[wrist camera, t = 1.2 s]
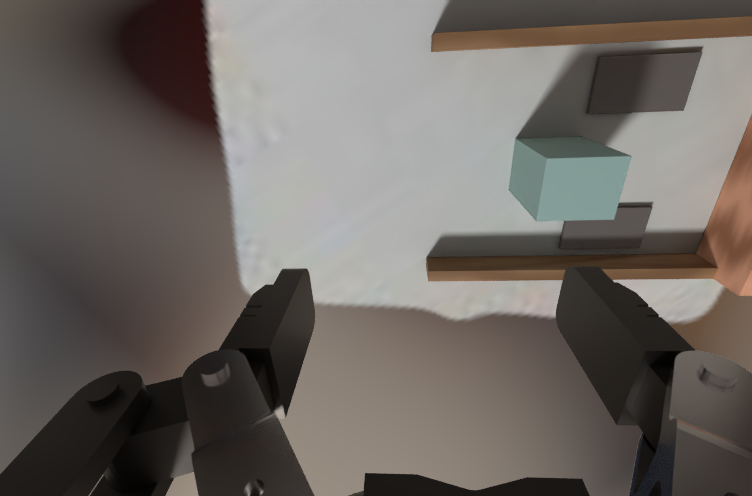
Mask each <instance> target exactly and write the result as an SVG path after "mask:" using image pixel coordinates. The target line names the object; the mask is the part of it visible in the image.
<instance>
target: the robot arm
mask: <svg viewBox="0 0 752 496" xmlns="http://www.w3.org/2000/svg"><path fill="white" fill-rule="evenodd" d="M556 321H557V325H558V328H559V330H560V332H561V334H562V335H563V337H564V339H565V340H566V342H567V344H568V345H569V347H570V349H571V350H572V352H573V353H574V355H575V357H576V358H577V360H578V362H579V363H580V365H581V367H582V368H583V370H584V371H585V373H586V375H587V377H588V378H589V380H590V381H591V383H592V385H593V386H594V388H595V390H596V391H597V393H598V395H599V396H600V398H601V400H602V401H603V403H604V405H605V406H606V408H607V409H608V411H609V413H610V415H611V416H612V418H613V420H614V421H615V423H616V424H617V425H638V426H639V427H640V429H641V430H642V432H643V433H642V435H641V437H640V439H639V442H638V448H637V453H636V459H635V465H634V470H633V476H632V482H631V488H630V493H629V496H752V374H751V373H750V372H749V371H747V370H746V369H745V368H743V367H742V366H740V365H738V364H736V363H735V362H732V361H731V360H728V359H726V358H724V357H721V356H718V355H715V354H711V353H707V352H702V351H696V350H694V348H692V347H691V346H690V345H689V344H688V343H687V342H686V341H685V340H684V339H683V338H682V337H681V336H680V335H679V334H678V333H677V332H676V331H675V330H674V329H673V328H672V327H671V326H670V325H669V324H668V323H667V322H666V321H665V320H664V319H662V318H661V317H659V315H658V314H657V313H656V312H655V311H654V310H653V309H652V308H651V307H648V304H647V303H646V302H645V301H644V300H643V299H642V298H641V297H640V296H639V295H638V294H637V293H635V292H634V291H632V290H630V289H628V288H626V287H625V286H623V285H621V284H619V283H614V282H613V281H612V280H611V278H610V277H609V276H608V275H607V274H606V273H605V272H604V271H603V270H602V269H601V268H599V267H598V266H569V267H568V268H567V269H566V271H565V273H564V277H563V282H562V286H561V291H560V295H559V300H558V304H557V309H556ZM314 322H315V309H314V302H313V296H312V289H311V282H310V276H309V272H308V270H307V269H282V270H281V272H280V274H279V276H278V277H277V279H276V281H275V283H274V285H265V286H263V287H262V288H261V289H259V290H258V291H257V292H256V293H254V294H253V295H252V297H251V298H250V300H249V302H248V303H247V305H246V308H244V310H243V312H242V313H241V315H240V317H239V318H238V319H237V321H236V323H235V324H234V326H233V328H232V329H231V331H230V332H229V334H228V336H227V337H226V339H225V341H224V342H223V344H222V345H221V347H220V349H219V350H217V351H213V352H210V353H207V354H205V355H203V356H201V357H200V358H198V359H197V360H195V361H194V362H193V363H192V364H190V365H189V366H188V368H187V369H186V370H185V372H184V373H183V376H182V377H179V378H176V379H172V380H167V381H163V382H159V383H155V384H151V385H146V386H145V384H144V382H143V380H142V378H141V376H140V375H139V374H138V373H136V372H132V371H118V372H114V373H110V374H107V375H104V376H102V377H100V378H98V379H96V380H94V381H92V382H90V383H88V384H87V385H86V386H84V387H83V388H81V389H80V390H79V391H78V392H77V393H76V394H75V395H74V396H73V397H72V398H71V399H70V400H69V401H68V402H67V403H66V404H65V405H64V406H63V408H61V409H60V411H59V412H58V413H57V414H56V415H55V416H54V417H53V418H52V419H51V420H50V421H49V422H48V424H47V425H46V426H45V427H44V428H43V429H42V430H41V431H40V432H39V433H38V434H37V435H36V436H35V437H34V439H33V440H32V441H31V442H30V443H29V444H28V445H27V446H26V447H25V448H24V449H23V450H22V452H21V453H20V454H19V455H18V456H17V457H16V458H15V459H14V460H13V461H12V462H11V463H10V464H9V465H8V467H7V468H6V469H5V470H4V471H3V472H2V473H1V474H0V496H88V495H89V494H90V492H91V491H92V489H93V488H94V486H95V485H96V483H97V482H98V480H99V479H100V478H101V476H102V474H104V476H103V477H102V479H101V480H100V482H99V483H98V485H97V487H96V488H95V489H94V491H93V492H92V494H91V495H90V496H165V495H166V493H167V491H168V489H169V487H170V485H171V483H172V481H173V479H174V477H177V476H180V475H184V474H188V473H191V472H194V474H195V479H196V485H197V490H198V495H199V496H314V494H313V492H312V490H311V488H310V486H309V483H308V481H307V479H306V477H305V475H304V473H303V470H302V468H301V466H300V464H299V462H298V460H297V458H296V455H295V453H294V451H293V449H292V447H291V445H290V443H289V441H288V438H287V436H286V434H285V432H284V430H283V428H282V426H281V424H280V421H279V419H278V418H286V415H287V412H288V408H289V406H290V403H291V399H292V396H293V393H294V389H295V387H296V383H297V380H298V377H299V374H300V371H301V367H302V364H303V361H304V358H305V354H306V351H307V348H308V345H309V342H310V339H311V335H312V332H313V329H314ZM349 496H589V493H588V491H587V489H586V487H585V484H584V482H583V480H582V479H567V478H528V477H527V478H524V479H520V480H516V481H512V482H508V483H505V484H500V485H497V486H493V487H489V488H485V489H481V490H468V489H465V488H461V487H458V486H454V485H451V484H447V483H444V482H441V481H437V480H434V479H430V478H427V477H423V476H420V475H413V474H376V473H365V482H364V491H361V492H358V493H354V494H352V495H349Z"/></svg>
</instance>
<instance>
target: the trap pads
mask: <svg viewBox="0 0 752 496" xmlns="http://www.w3.org/2000/svg"><path fill="white" fill-rule="evenodd" d="M701 55H702V52H693V53H672V54H651V55H630V56H609V57H598V62H597V67H596V71H595V76H594V81H593V86H592V91H591V95H590V100H589V105H588V110H587V114H606V113H632V112H658V111H684V108H685V105H686V101H687V98H688V95H689V92H690V89H691V86H692V83H693V80H694V77H695V74H696V70H697V67H698V64H699V61H700V58H701ZM651 210H652V207H651V206H626V207H617V211H616V214H615V218H614V220H571V221H564V225H563V229H562V234H561V239H560V244H559V248H560V249H605V248H639V247H640V244H641V241H642V238H643V235H644V232H645V229H646V226H647V222H648V219H649V216H650V213H651Z"/></svg>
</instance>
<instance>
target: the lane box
mask: <svg viewBox="0 0 752 496" xmlns="http://www.w3.org/2000/svg"><path fill="white" fill-rule="evenodd" d="M739 36H752V16H746V17H727V18H708V19H690V20H671V21H652V22H633V23H614V24H596V25H577V26H558V27H539V28H520V29H502V30H483V31H464V32H445V33H434V34H433V35H432V42H431V52H438V51H458V50H479V49H499V48H519V47H539V46H559V45H579V44H599V43H619V42H639V41H659V40H679V39H699V38H719V37H739ZM569 266H598V267H599V268H601V269H602V270H603V271H604V272H605V273H606V274H607V275H608V276H609V277H610V278H611V280H616V279H715V280H716V281H718V282H719V283H721V284H722V285H724V286H725V287H727V288H728V289H730V290H731V291H732V292H734V293H735V294H737V295H739V296H752V116H751V119H750V121H749V123H748V126H747V128H746V131H745V133H744V136H743V138H742V141H741V143H740V146H739V148H738V151H737V153H736V156H735V158H734V160H733V163H732V165H731V168H730V170H729V173H728V175H727V178H726V180H725V183H724V185H723V188H722V190H721V193H720V195H719V198H718V200H717V202H716V205H715V207H714V210H713V212H712V215H711V217H710V220H709V222H708V225H707V227H706V230H705V232H704V235H703V237H702V239H701V242H700V244H699V247H698V249H697V252H696V254H645V255H571V256H497V257H427V258H426V268H427V275H428V281H508V280H563V277H564V273H565V271H566V269H567V268H568V267H569Z"/></svg>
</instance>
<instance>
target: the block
mask: <svg viewBox="0 0 752 496" xmlns="http://www.w3.org/2000/svg"><path fill="white" fill-rule="evenodd" d="M630 160H631V156H630V155H627V154H625V153H622V152H620V151H617V150H615V149H612V148H610V147H607V146H605V145H602V144H600V143H597V142H595V141H592V140H590V139H587V138H584V137H582V136H579V137H549V138H520V139H515V145H514V153H513V161H512V168H511V176H510V184H509V191H510V192H511V193H512V194H513V196H514V197H515V198H516V199H517V200H518V201H519V202H520V203H521V205H522V206H523V207H524V208H525V209H526V210H527V211H528V212H529V214H530V215H531V216H532V217H533V218H534V219H535V220H536V221H571V220H614V218H615V214H616V211H617V207H618V203H619V200H620V196H621V193H622V189H623V185H624V182H625V178H626V174H627V171H628V167H629V163H630Z"/></svg>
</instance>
